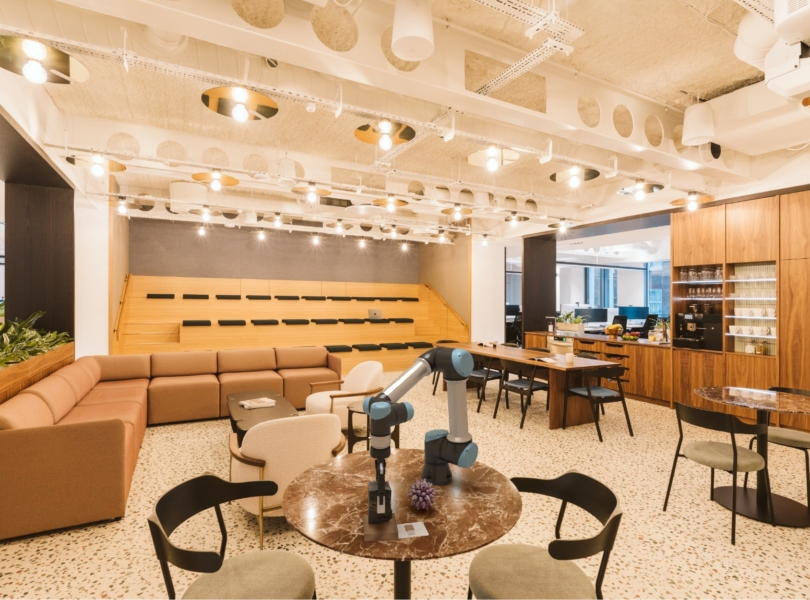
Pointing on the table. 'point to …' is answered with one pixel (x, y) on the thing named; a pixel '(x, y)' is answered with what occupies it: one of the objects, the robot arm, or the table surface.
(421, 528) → the page
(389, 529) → the base brick
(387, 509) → the stone block
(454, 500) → the table surface
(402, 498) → the table surface
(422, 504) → the flower
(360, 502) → the table surface
